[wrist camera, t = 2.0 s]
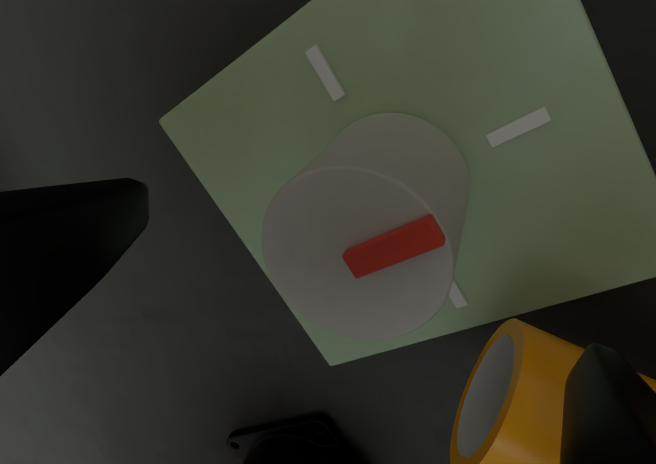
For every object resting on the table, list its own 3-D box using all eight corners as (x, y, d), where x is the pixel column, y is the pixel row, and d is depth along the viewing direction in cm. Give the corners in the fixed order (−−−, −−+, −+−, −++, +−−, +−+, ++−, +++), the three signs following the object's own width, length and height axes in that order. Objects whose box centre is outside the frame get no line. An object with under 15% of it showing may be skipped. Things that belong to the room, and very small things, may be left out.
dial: (368, 269, 14) (320, 368, 11) (296, 155, 13) (217, 222, 10) (497, 219, 12) (490, 321, 9) (423, 81, 11) (381, 132, 8)
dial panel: (350, 324, 19) (328, 370, 17) (201, 102, 16) (153, 122, 14) (666, 221, 13) (697, 271, 11) (513, -135, 11) (513, -162, 9)
